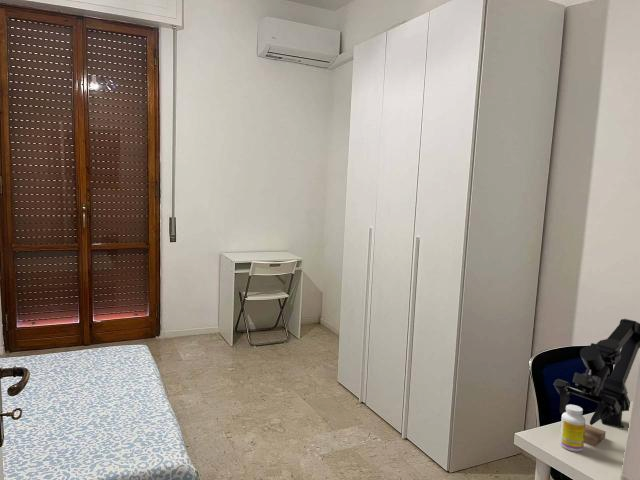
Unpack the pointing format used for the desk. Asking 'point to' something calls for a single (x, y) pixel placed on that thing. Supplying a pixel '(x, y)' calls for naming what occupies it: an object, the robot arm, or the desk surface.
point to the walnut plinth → (593, 435)
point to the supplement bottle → (572, 428)
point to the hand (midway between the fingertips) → (575, 418)
